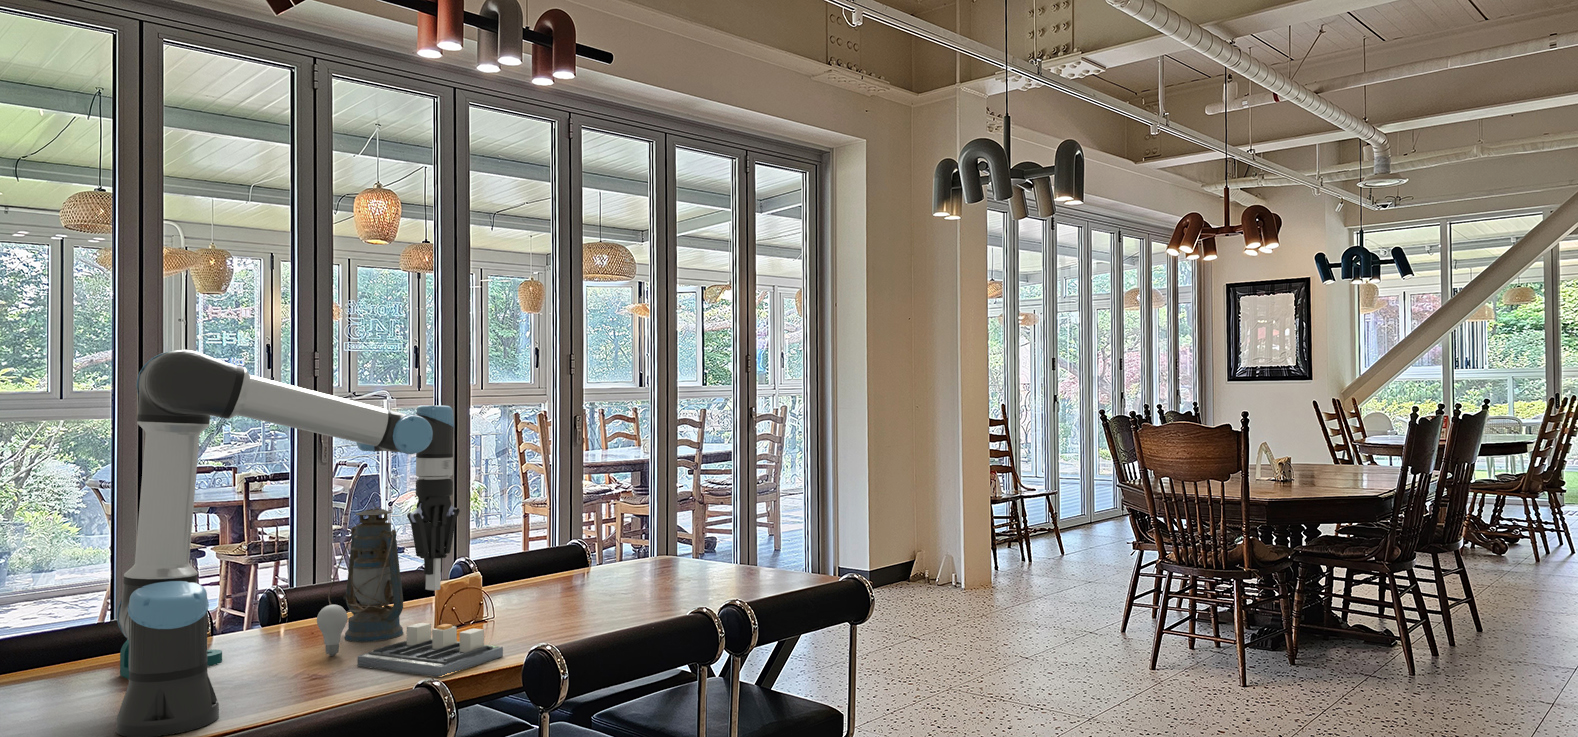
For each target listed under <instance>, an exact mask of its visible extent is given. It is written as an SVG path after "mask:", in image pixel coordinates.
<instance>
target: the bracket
mask: <svg viewBox="0 0 1578 737" xmlns="http://www.w3.org/2000/svg"><path fill="white" fill-rule="evenodd" d="M119 653H120V654H119V676H120V677H121V678H122V677H123V678H125V679H127V680H129V640H128V639H126V641H125V642H124V643H123V644H122V646H121V648H120V651H119ZM222 662H223V650H222V649H207V667H211V666H214V665H215V666H216V665H218V664H221V663H222Z"/></svg>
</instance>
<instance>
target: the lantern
mask: <svg viewBox="0 0 1578 737" xmlns="http://www.w3.org/2000/svg"><path fill="white" fill-rule="evenodd" d="M392 513H393V512H392V511H390V510H389V511H388V510H386V509H384V508H383V509H382V508H381V509H380V506H375V507H373V508H371V509H366V510H363V511H361V512H356V513H355V515H356V516H359V524H356V525H355V526H353V527H351V530H350V531H351V534H350V537H349V538H348V542H347V544H346V546H345V549H344V550H343V552H342V555H341V558H340V560H339V562H338V565H337V568H336V571H335V573H334V576H333V577H332V578H333V579H332V582H331V583H330V585H329V586H330V587H329V591H328V597H327V599H328V602H329V605H333V604H332V602H331V600H330V599H331V598H330V597H331V592H332V589H333V585H334V582H335V579H336V577H337V574H338V571H339V568H340V565H341V564H342V560H343V558H344V556H345V553H346V551H347V549H348V547H349V544H350V551H349V552H350V553H349V561H348V570H347V572H348V573H347V581H346V582H347V583H346V589H345V595H343V600H345V603H346V606H347V608H348V610H347V611H346V610H345V611H346V613H347V614H348V613H350V612H351V614H352V616H350V617H348V619H347V622H348V624H347V625H348V629H347V630H346V631H345V632H344V640H346V641H348V642H356V643H363V642H365V643H367V642H368V643H369V642H376V641H377V642H378V641H385V640H391V639H394V638H398V637H400V636H402V635H403V634H404V632H403V631H404V630H403V629H404V627H403V626H402V625H401V624H400V623H401V622H400V617H401V614H402V612H403V609H404V596H403V585H402V579H401V578H402V577H401V569H400V560H399V552H398V548H399V547H398V542H397V535H398V534H397V530H396V529H392V523H391V522H388V521H389V518H388V516H389V515H388V514H392ZM366 516H367V518H365V517H366ZM380 516H383V517H380ZM386 521H387V522H386ZM358 602H359V603H358ZM392 603H393V604H392ZM390 604H392V605H390Z"/></svg>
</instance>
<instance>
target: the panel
mask: <svg viewBox="0 0 1578 737" xmlns="http://www.w3.org/2000/svg"><path fill="white" fill-rule="evenodd" d="M502 657H504V647H503V646H499V645H490V644H484V646H483V647H480V648H477V649H473V650H470V651H467V652H460V641H458V640H457V643H455V644H452V645H449V646H445V647H442V648H439V649H434V648H432V637H431V640H428V641H425V642H422V643H418V644H415V645H407V639H406V640H403V641H400V642H396V643H392V644H389V645H386V646H383V647H378V648H376V649H373V650H371V651H368V652H367V653H363V654H359V655H357V656H356V659H357V662H356V664H357V665H356V666H358V667H363V668H371V669H377V670H384V671H390V672H400V673H405V674H406V673H407V674H411V675H412V674H414V675H419V676H420V675H422V676H429V677H435V678H439V677H438V676H442V675H445V674H447V673H451V672H455V671H459V670H462V669H464V670H466V668H467V669H470V668H473V667H477V666H478V665H481V664H485V663H487V662H490V661H493V660H496V659H499V658H502ZM469 667H470V668H469ZM462 671H463V670H462ZM459 672H460V671H459Z"/></svg>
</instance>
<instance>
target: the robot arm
mask: <svg viewBox="0 0 1578 737" xmlns="http://www.w3.org/2000/svg"><path fill="white" fill-rule="evenodd" d="M136 390H137V391H136V393H137V394H138V403H137V404H138V405H137V406H138V407H137V418H136V419H137V420H136V424H137V425H138V426H139V427H141V429H143V431H144V433H145V438H144V439H145V440H144V448H143V449H144V451H143V460H142V463H143V464H142V474H141V475H142V476H141V483H140V485H141V486H140V499H139V509H138V510H139V511H138V521H137V532H136V545H135V556H134V558H135V559H134V564H133V565H132V566H131V568H129V569H128V570H126V571H125V572H124V573H123V581H122V582H123V583H122V591H121V592H122V594H121V599H120V601H119V605H118V607H117V610H116V622H117V625H118V627H119V630H120V631H121V633H122V634H123V636H124V637H125V638H126V640H129V679H128V684H127V687H126V691H125V694H124V697H123V698H122V699H123V700H122V703H121V705H120V709H119V711H118V713H117V716H116V725H115V726H116V733H117V734H118V735H120V736H123V737H162V736H161V735H164V736H169V735H168V734H170V735H174V734H173V733H176V734H181V733H185V731H186V732H190V731H193V730H196V729H200V728H203V727H204V726H205V727H206V726H207V725H210V724H212V723H214V722H215V721H216V720H218V719H219V715H220V712H219V711H220V705H219V700H218V698H217V696H216V693H215V690H214V687H213V684H212V681H211V679H210V677H209V674H208V666H207V650H208V611H209V607H210V605H209V603H210V602H209V599H208V593H207V590H206V588H205V587H204V586H203V585H201V584H199V583H198V572H199V571H197V570H196V569H195V568H194V566H192V565H191V564H190V555H191V545H192V544H191V542H192V529H193V521H194V520H193V519H194V506H195V505H194V504H195V497H196V496H195V494H196V481H197V471H198V470H197V469H198V457H199V456H198V455H199V444H200V435H201V433H203V432H204V431H205V430H206V429H208V427H210V422H211V421H210V420H211V416H213V417H217V418H222V419H227V420H230V419H232V418H234V417H236V416H240V417H244V418H249V419H251V420H252V419H253V420H258V421H261V422H266V423H270V424H275V425H278V426H284V427H288V428H293V429H297V430H301V431H306V432H311V433H315V434H320V435H323V436H327V437H333V438H337V439H342V440H346V441H351V442H355V443H356V445H357V446H356V447H358V449H359V450H360V451H362V452H372V453H375V452H392V453H403V454H406V455H413V454H416V455H415V476H416V477H417V478H416V480H415V496H416V497H417V503H416V508H415V510H414V511H413V512H408V513H407V515H406V516H407V519H408V521H409V523H410V528H411V532H412V540H413V543H414V551H415V555H416V557H418V558H420V559H423V560H424V561H423V562H424V563H423V567H424V568H423V573H424V575H425V590H427V591H439V590H441V575H442V574H441V573H443V559H446V558H447V556H448V554H450V553H451V548H452V545H453V539H454V538H453V537H454V532H455V528H456V523H457V521H456V520H457V519H458V517H459V514H460V511H461V510H460V508H457V507H454V506H453V505H452V501H451V497H452V496H453V493H454V480H453V478H451V477H452V476H453V475H454V438H455V437H454V435H455V434H454V432H455V418H454V417H455V416H454V410H453V408H452V407H451V406H450V405H418V406H417V408H416V412H415V414H412V413H411V414H407V413H403V412H399V411H396V410H390V409H386V408H384V407H379V406H376V405H372V404H368V403H363V402H361V401H355V400H352V399H348V398H343V397H339V396H335V395H332V394H328V393H324V392H319V391H316V390H311V389H307V388H303V387H300V386H296V385H292V384H289V383H288V384H287V383H283V382H279V381H276V380H271V379H269V378H265V377H262V376H261V377H260V376H256V375H252V374H250V373H249V371H248V369H247V368H246V367H243V366H240V365H235V364H233V363H229V362H225V361H224V360H220V359H217V358H215V357H212V356H209V355H208V354H204V353H201V352H198V351H196V350H191V349H177V350H172V351H166V352H161V353H160V354H157V355H155V356H153V357H151V358H150V359H149V360H148V361H147V362H146V363H145V364H144V365H143V366H142V368H141V369H140V371H139V373H138V375H137V378H136ZM450 496H451V497H450ZM180 732H181V733H180ZM166 734H167V735H166Z"/></svg>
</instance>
